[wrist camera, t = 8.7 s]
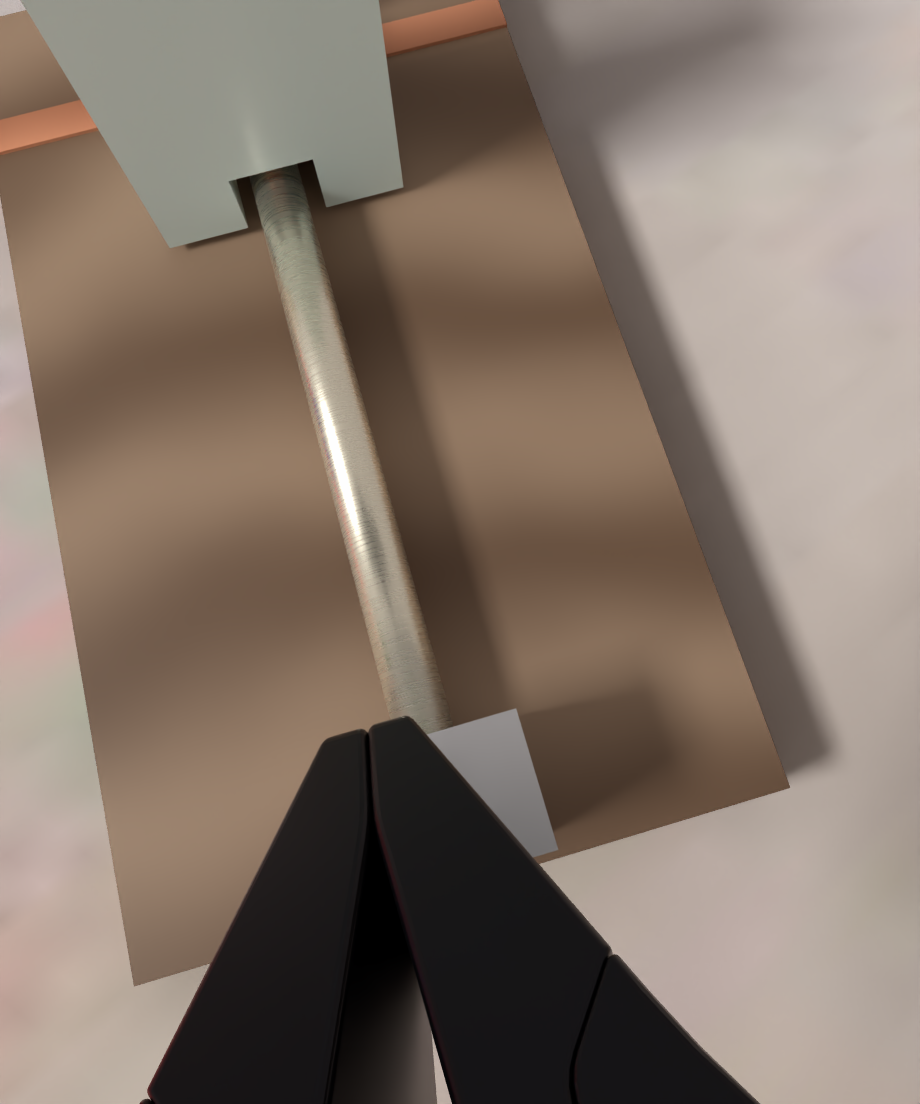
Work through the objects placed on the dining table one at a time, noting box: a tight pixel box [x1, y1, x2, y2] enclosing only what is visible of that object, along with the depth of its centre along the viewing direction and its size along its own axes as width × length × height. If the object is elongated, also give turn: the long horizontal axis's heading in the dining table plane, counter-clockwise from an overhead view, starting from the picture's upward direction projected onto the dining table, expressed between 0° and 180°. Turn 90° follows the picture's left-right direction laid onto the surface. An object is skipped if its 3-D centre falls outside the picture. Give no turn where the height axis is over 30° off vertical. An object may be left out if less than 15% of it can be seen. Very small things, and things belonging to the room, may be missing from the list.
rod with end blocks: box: [249, 164, 558, 857], centre depth 18 cm, size 24×5×6 cm, turn 16°
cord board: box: [0, 0, 790, 986], centre depth 21 cm, size 25×14×2 cm, turn 16°
